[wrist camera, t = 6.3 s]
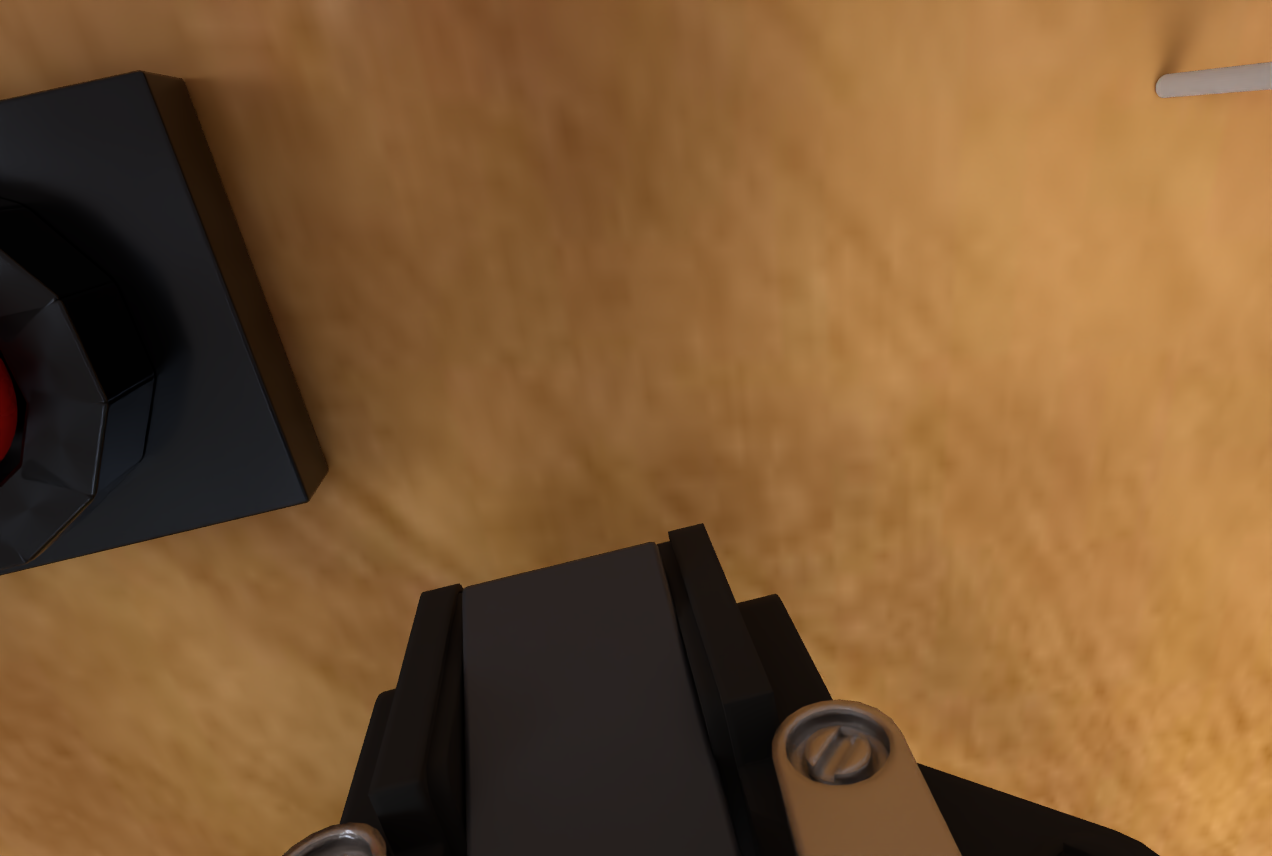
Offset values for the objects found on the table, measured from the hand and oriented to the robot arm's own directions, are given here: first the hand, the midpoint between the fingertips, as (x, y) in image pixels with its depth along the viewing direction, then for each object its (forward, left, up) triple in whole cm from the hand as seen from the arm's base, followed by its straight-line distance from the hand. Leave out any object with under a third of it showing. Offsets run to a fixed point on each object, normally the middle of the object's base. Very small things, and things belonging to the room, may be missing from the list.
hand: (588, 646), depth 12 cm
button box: (-10, +5, -7) cm, 13 cm away
